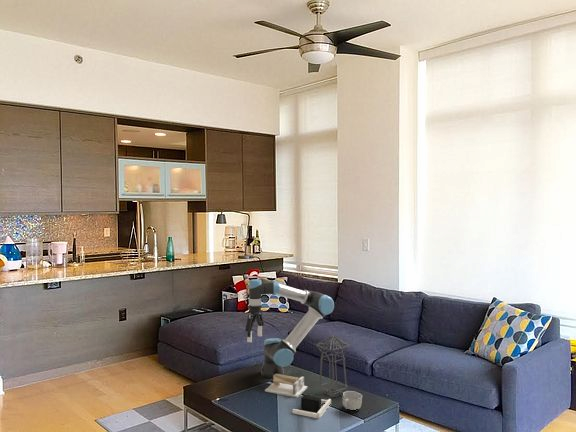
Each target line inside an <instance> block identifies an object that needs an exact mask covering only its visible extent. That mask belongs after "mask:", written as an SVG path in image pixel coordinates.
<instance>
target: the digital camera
mask: <svg viewBox="0 0 576 432" xmlns="http://www.w3.org/2000/svg"><path fill="white" fill-rule="evenodd" d="M321 399H322V398H321V397H317V396H311V395H309V394H307V395H305V394H303V395H302V396H301V397H300V410H303V411H308V412H312V413H317V412H318V411H319V410H320V409H321V408H322V404H321Z"/></svg>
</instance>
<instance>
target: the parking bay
mask: <svg viewBox="0 0 576 432" xmlns="http://www.w3.org/2000/svg"><path fill="white" fill-rule="evenodd" d="M321 403H325V404H323V405H321V409H320V410H319V411H318V412H317V413H314V412H308V411H303V410H301V409H296V408H293V409H292V414H295V415H300V416H305V417H309V418H315V419H320V418H321V417H322V416H323V415H324V414H325V413H326V411H327V410H328V409H329V407H330V406H331V405H332V399H331V398H328V399H322V398H321ZM330 404H331V405H330ZM329 405H330V406H329ZM327 408H328V409H327ZM326 409H327V410H326Z"/></svg>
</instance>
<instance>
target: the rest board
mask: <svg viewBox="0 0 576 432" xmlns="http://www.w3.org/2000/svg"><path fill="white" fill-rule="evenodd" d="M307 389H308V386H307V385H304V387H303V388H302V389H301V390H300V391H299V392H298V393H296V394H295V395H294V394H293V385H289V384H283V383H280V386H279V387H273V383H271V384H270V385H269V386H268V387H267V388H265V389H264V392H267V393H272V394H275V395H276V394H277V395H281V396H288V397H292V398H297V399H298V397H300V396H301V395H302V394H303V393H304V392H305V391H306V390H307Z"/></svg>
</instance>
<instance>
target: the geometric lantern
mask: <svg viewBox="0 0 576 432" xmlns="http://www.w3.org/2000/svg"><path fill="white" fill-rule="evenodd" d="M315 346H316V348H317V349H318V350H319V351H320V352H321V355H320V366H319V368H320V371H319V374H320V375H319V388H321V389H322V390H323V391H324V392H325V393H326V392H327V394H328V393H329V394H331V395H333V397H334V396H335V397H336V394H340V393H344V392H345V390H347V389H348V387H347V373H346V372H347V370H346V357H345V356H344V351H345V350H346V349H348V348H349V347H350V346H351V344H349V343H347V342H346V341H345V340H342V339H341V338H339V337H337V336H336V335H330V336H329V337H327V338H325V339H322V340H321V341H319V342H317V343H316V344H315ZM342 346H343V347H342ZM332 347H333V348H332ZM325 350H326V351H325ZM340 350H341V351H340ZM332 351H333V352H334V353H333V352H332ZM328 352H329V353H330V354H328ZM324 354H325V355H324ZM339 354H341V355H339ZM329 356H331V359H330V357H329ZM337 356H338V357H340V358H341V359H337ZM325 357H326V358H327V359H326V358H325ZM323 360H325V361H327V362H328V363H329V365H328V366H329V371H328V372H329V376H328V377H329V381H328V382H325V383H322V375H323V374H322V372H323ZM339 361H342V363H343V372H344V384H343V383H341V382H339V381H338V380H337V379H338V378H337V372H335V371H337V362H339ZM334 365H335V366H334ZM334 367H335V370H334ZM331 379H332V380H331ZM326 384H329V385H328V386H329V388H325V387H323V386H325V385H326ZM337 384H339V385H342V386H343V387H342V388H338V387H336V385H337ZM331 390H334V391H331ZM335 390H336V391H338V392H336V391H335ZM328 391H329V392H328ZM339 392H340V393H339Z"/></svg>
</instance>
